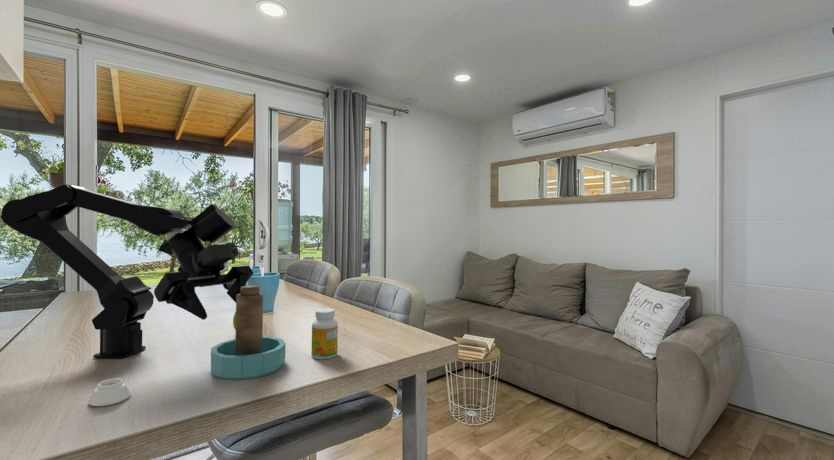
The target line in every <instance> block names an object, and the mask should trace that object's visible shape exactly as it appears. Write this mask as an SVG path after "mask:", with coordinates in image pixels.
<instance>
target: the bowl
mask: <svg viewBox="0 0 834 460" xmlns="http://www.w3.org/2000/svg"><path fill="white" fill-rule="evenodd" d="M235 340H236V338H233V339H229V340H225V341H223V342H219V343H218V344H216V345H214V346H213V347H210V374H211V376H213V377H214V378H217V379H221V380H228V381H239V380H240V381H241V380H250V379H255V378H261V377H264V376H268V375H270V374H273V373H275V372H278V371H279V370H281V369H282V368H283V367H284V365H285V360H286V342H285V341H284V340H283V338H279V337H276V336H275V337H274V336H271V335H270V336H269V335H268V336H263V335H262V353H259V354H252V355H244V356H235Z"/></svg>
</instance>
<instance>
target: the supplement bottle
mask: <svg viewBox="0 0 834 460" xmlns="http://www.w3.org/2000/svg"><path fill="white" fill-rule="evenodd" d="M335 313H336V311H335V309H334V308H328V307H325V308H319V309H316V310H315V318H316V319H315V320H313V321H312V323H311V357H312V358H313V359H316V360H330V359H333V358H335V357H336V356H337V355H338V347H339V346H338V345H339V344H338V342H339V341H338V338H339V329H338V328H339V327H338V326H339V323H338V320H336V319H335V318H334V317H335V315H336V314H335Z"/></svg>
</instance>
